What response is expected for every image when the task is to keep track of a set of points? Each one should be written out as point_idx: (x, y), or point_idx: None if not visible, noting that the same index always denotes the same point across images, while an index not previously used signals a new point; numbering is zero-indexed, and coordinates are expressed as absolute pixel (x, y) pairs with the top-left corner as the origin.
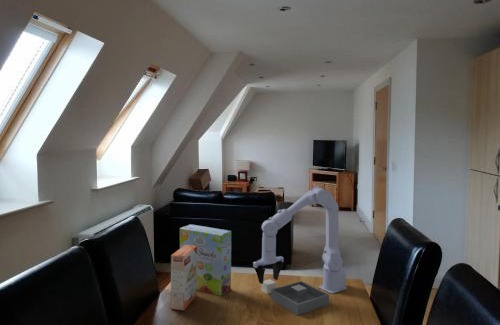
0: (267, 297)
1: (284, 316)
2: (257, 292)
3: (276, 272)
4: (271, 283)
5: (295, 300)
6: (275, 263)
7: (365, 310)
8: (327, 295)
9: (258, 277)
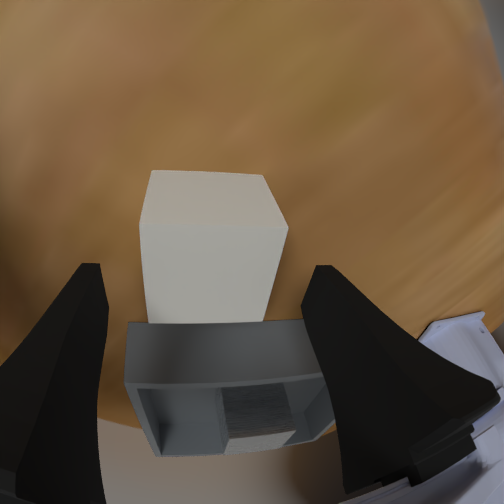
0: (121, 296)
1: (106, 410)
2: (94, 193)
3: (337, 371)
4: (207, 319)
5: (216, 399)
6: (390, 467)
7: (333, 427)
8: (307, 441)
9: (56, 313)
